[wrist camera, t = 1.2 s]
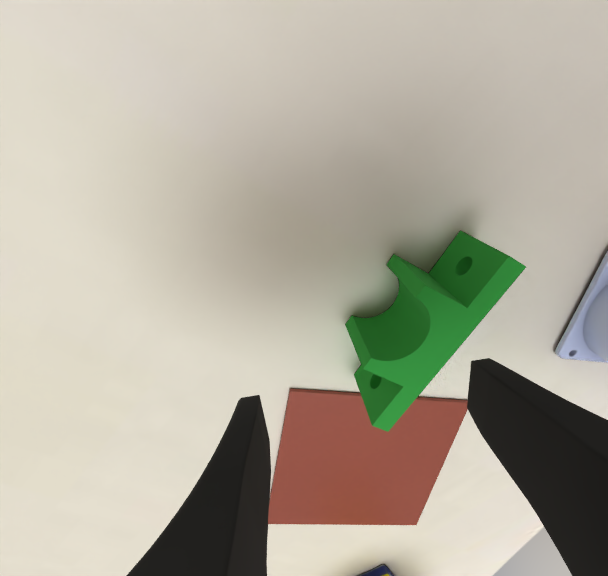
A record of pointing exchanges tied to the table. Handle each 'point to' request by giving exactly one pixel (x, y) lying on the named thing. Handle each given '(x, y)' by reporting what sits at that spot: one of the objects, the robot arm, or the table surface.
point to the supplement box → (378, 572)
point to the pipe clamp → (426, 323)
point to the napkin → (358, 460)
